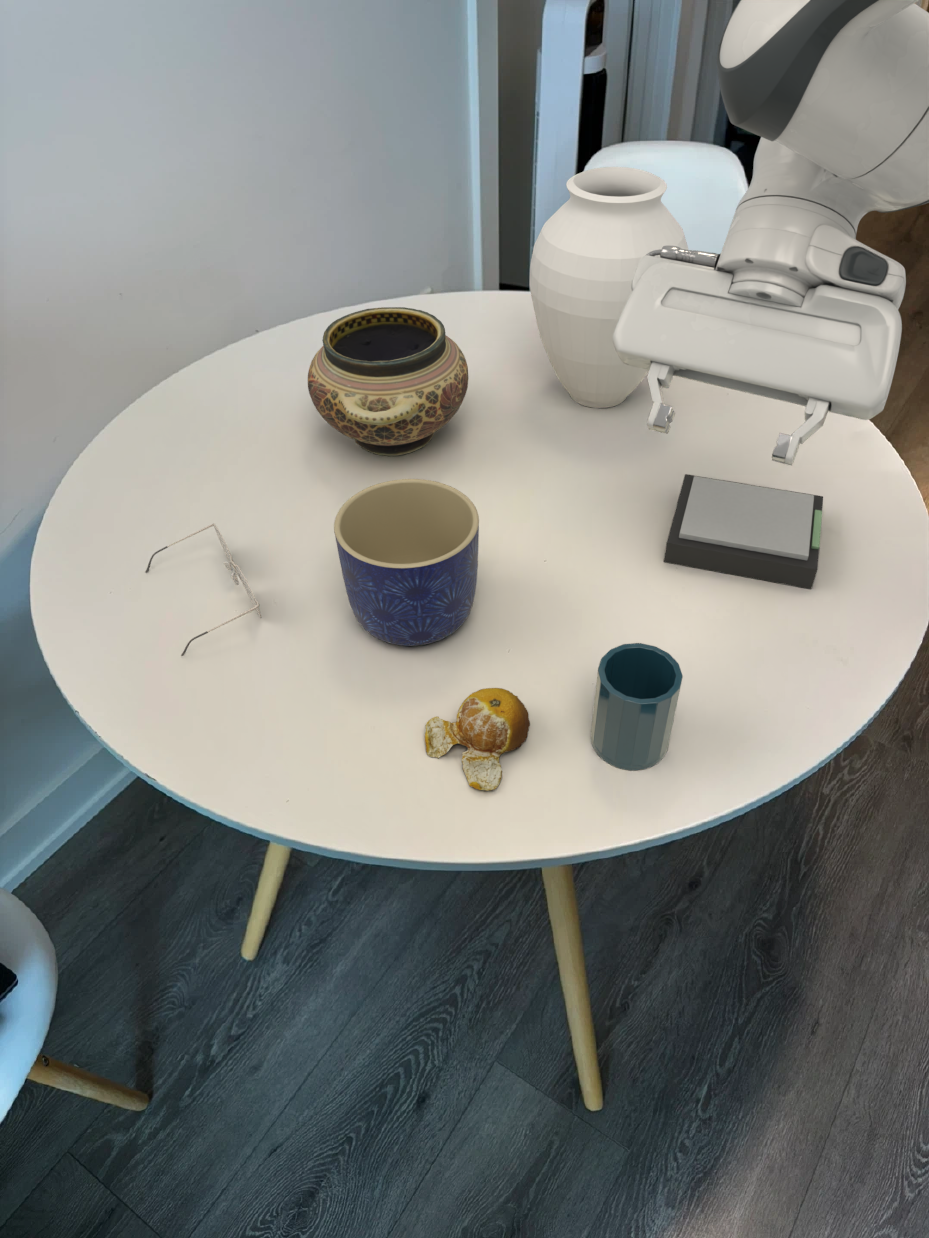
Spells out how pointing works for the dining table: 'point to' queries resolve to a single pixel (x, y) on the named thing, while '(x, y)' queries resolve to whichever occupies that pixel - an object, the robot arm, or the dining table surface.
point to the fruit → (481, 734)
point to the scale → (746, 531)
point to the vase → (596, 276)
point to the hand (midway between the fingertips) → (717, 445)
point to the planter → (409, 559)
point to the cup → (635, 705)
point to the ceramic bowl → (388, 378)
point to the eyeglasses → (233, 576)
